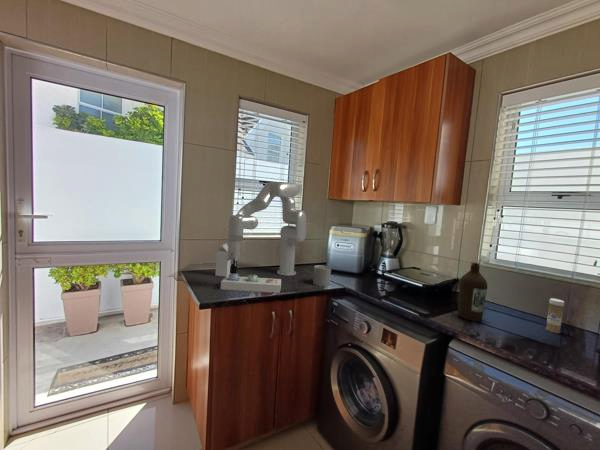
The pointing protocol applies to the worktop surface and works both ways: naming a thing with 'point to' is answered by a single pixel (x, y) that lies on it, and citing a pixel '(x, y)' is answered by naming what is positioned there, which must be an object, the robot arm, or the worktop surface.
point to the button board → (251, 285)
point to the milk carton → (222, 261)
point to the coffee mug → (321, 275)
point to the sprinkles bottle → (555, 315)
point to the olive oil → (472, 294)
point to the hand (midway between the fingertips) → (233, 273)
